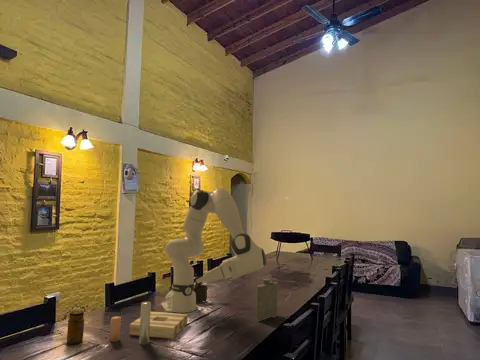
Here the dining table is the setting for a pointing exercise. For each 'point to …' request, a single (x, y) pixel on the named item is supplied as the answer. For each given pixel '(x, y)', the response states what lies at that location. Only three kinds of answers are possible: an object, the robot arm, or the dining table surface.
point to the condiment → (75, 329)
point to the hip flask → (266, 300)
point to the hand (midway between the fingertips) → (199, 280)
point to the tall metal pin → (145, 322)
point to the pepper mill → (200, 291)
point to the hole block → (162, 324)
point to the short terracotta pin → (115, 329)
